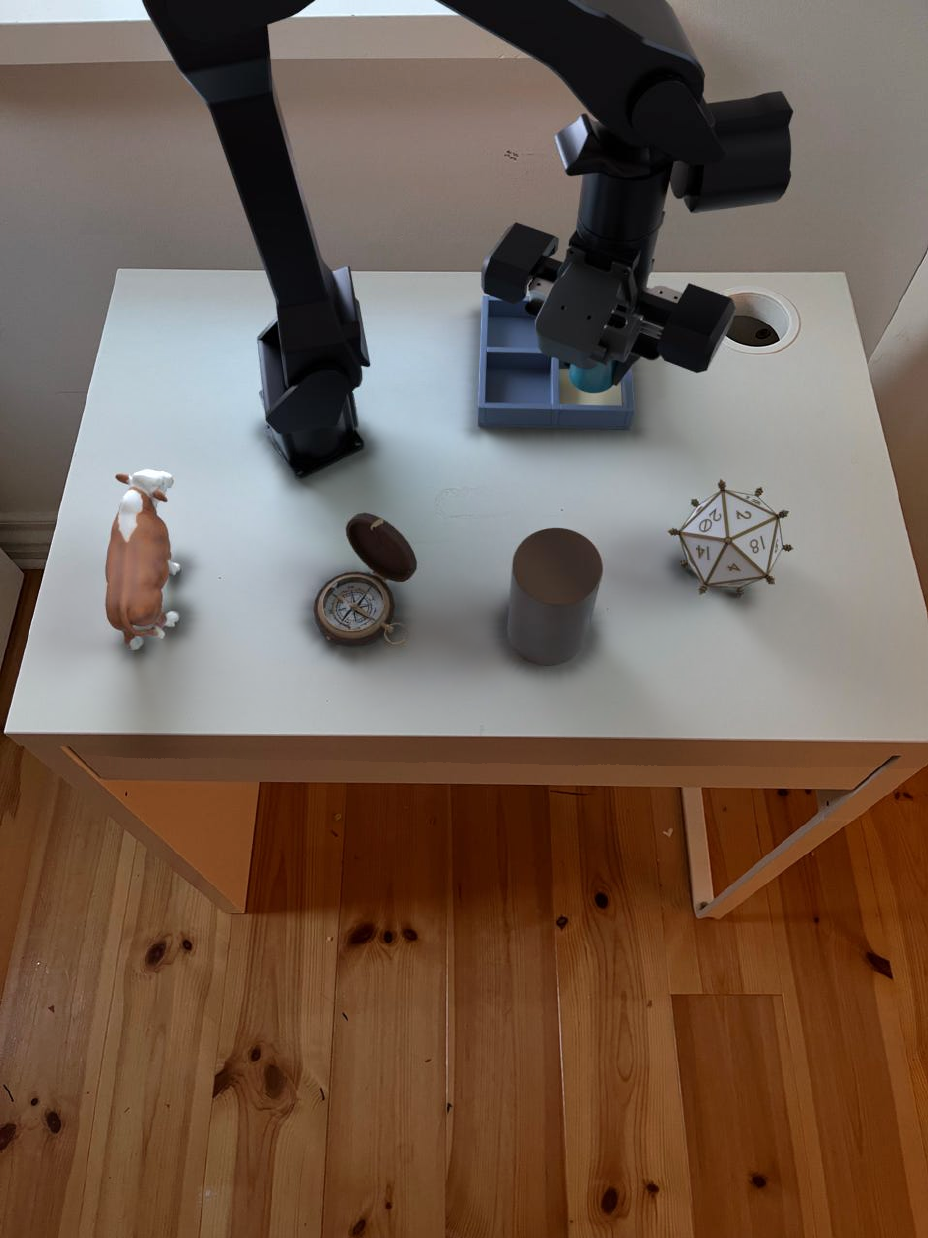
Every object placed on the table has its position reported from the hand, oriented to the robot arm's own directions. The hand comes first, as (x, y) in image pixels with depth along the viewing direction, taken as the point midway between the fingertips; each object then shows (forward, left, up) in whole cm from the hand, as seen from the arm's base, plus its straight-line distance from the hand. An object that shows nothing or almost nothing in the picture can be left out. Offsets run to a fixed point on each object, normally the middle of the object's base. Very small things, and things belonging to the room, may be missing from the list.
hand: (592, 372), depth 75 cm
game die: (-1, -19, -3) cm, 20 cm away
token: (0, 0, 0) cm, 0 cm away
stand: (-16, -17, -3) cm, 23 cm away
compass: (-26, -8, -3) cm, 28 cm away
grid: (-1, +4, -3) cm, 5 cm away
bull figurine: (-39, +2, -3) cm, 39 cm away
